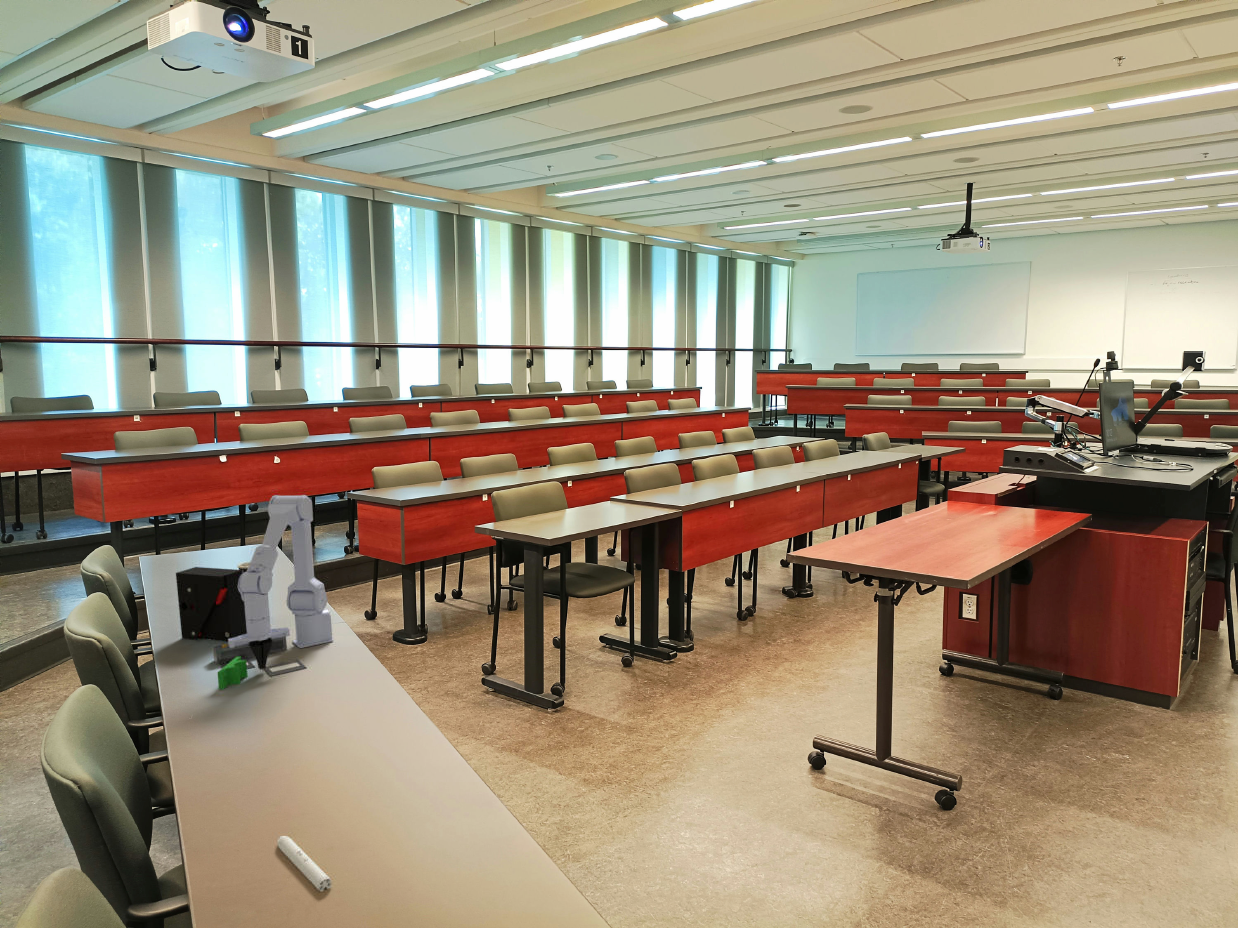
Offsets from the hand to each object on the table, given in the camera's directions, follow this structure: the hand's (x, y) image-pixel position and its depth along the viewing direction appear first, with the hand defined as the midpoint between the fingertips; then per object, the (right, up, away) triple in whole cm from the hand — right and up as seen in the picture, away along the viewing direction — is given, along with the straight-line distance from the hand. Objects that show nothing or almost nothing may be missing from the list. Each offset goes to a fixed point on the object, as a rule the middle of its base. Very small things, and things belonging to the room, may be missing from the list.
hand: (262, 667), depth 216 cm
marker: (+43, -11, -85) cm, 95 cm away
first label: (-9, -1, +6) cm, 11 cm away
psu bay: (-9, 0, +14) cm, 17 cm away
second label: (+5, -1, +3) cm, 6 cm away
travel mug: (-23, +3, +48) cm, 53 cm away
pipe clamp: (-5, -2, -4) cm, 7 cm away
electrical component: (-27, +1, +32) cm, 42 cm away
